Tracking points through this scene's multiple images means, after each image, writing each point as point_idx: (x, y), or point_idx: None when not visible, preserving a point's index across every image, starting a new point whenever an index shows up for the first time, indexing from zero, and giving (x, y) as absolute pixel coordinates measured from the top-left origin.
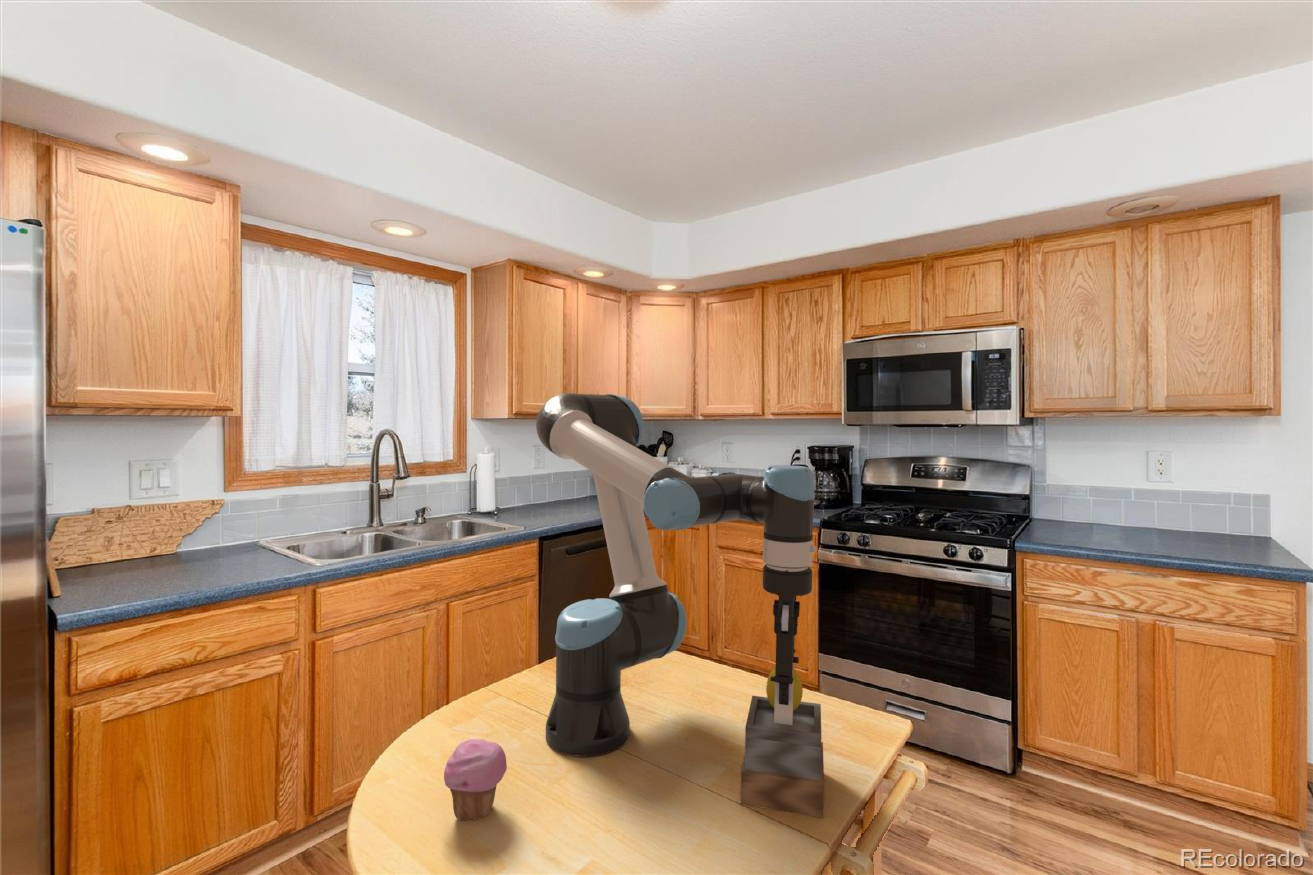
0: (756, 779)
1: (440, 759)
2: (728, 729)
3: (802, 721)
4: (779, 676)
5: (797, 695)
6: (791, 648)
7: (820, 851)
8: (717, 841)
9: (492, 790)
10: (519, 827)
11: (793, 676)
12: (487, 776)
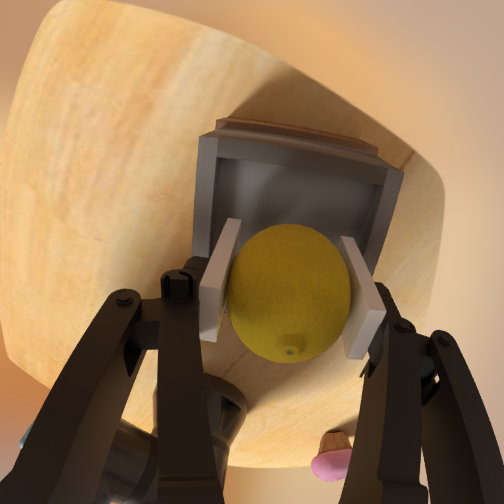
0: None
1: (266, 456)
2: (129, 262)
3: (264, 188)
4: (432, 379)
5: (340, 257)
6: (493, 444)
7: (427, 164)
8: (401, 284)
9: (348, 447)
10: (356, 415)
11: (333, 306)
12: None
